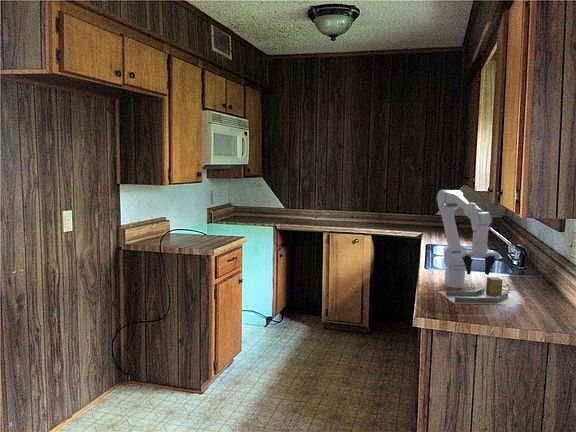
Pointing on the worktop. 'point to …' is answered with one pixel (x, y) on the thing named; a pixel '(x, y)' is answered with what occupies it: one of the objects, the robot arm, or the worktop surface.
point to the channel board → (505, 301)
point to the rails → (475, 299)
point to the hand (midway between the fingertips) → (477, 274)
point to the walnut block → (494, 286)
